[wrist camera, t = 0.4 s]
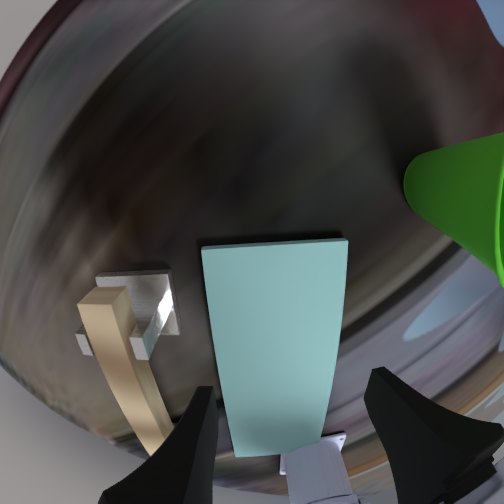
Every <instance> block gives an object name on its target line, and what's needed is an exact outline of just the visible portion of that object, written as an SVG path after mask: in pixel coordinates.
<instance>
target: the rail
mask: <svg viewBox="0 0 504 504" xmlns="http://www.w3.org/2000/svg"><path fill="white" fill-rule="evenodd" d="M77 306H78V309H79V312H80V315H81V318H82V321H83V324H84V327H85V329H86V332H87V335H88V337H89V340H90V343H91V345H92V348H93V350H94V353H95V355H96V357H97V360H98V362H99V364H100V367H101V369H102V371H103V373H104V375H105V377H106V380H107V382H108V384H109V386H110V388H111V390H112V392H113V394H114V396H115V398H116V400H117V402H118V404H119V405H120V407H121V409H122V411H123V413H124V414H125V416H126V418H127V420H128V421H129V423H130V425H131V427H132V428H133V430H134V432H135V433H136V435H137V436H138V438H139V440H140V441H141V443H142V444H143V446H144V447H145V449H146V450H147V452H148V453H149V455H150V456H151V455H152V454H153V453H154V452H155V451H156V450H157V449H158V448H159V447H160V446H161V444H162V443H163V442H164V441H165V440H166V438H167V437H168V436H169V434H170V433H171V432H172V430H173V429H174V426H173V424H172V422H171V419H170V417H169V415H168V412H167V410H166V408H165V405H164V403H163V400H162V398H161V395H160V393H159V390H158V387H157V385H156V382H155V379H154V376H153V374H152V371H151V368H150V365H149V362H148V360H138V359H136V356H135V353H134V351H133V348H132V345H131V342H130V338H129V337H130V335H131V334H132V332H133V330H134V328H135V327H136V325H137V323H136V320H135V316H134V312H133V308H132V305H131V301H130V297H129V292H128V288H127V286H115V287H94V288H93V289H92V290H91V291H90V292H89V293H88V294H87V295H86V296H85V297H84V298H83V299H82V300H81V301H80V302H79V303H78V304H77Z"/></svg>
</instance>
